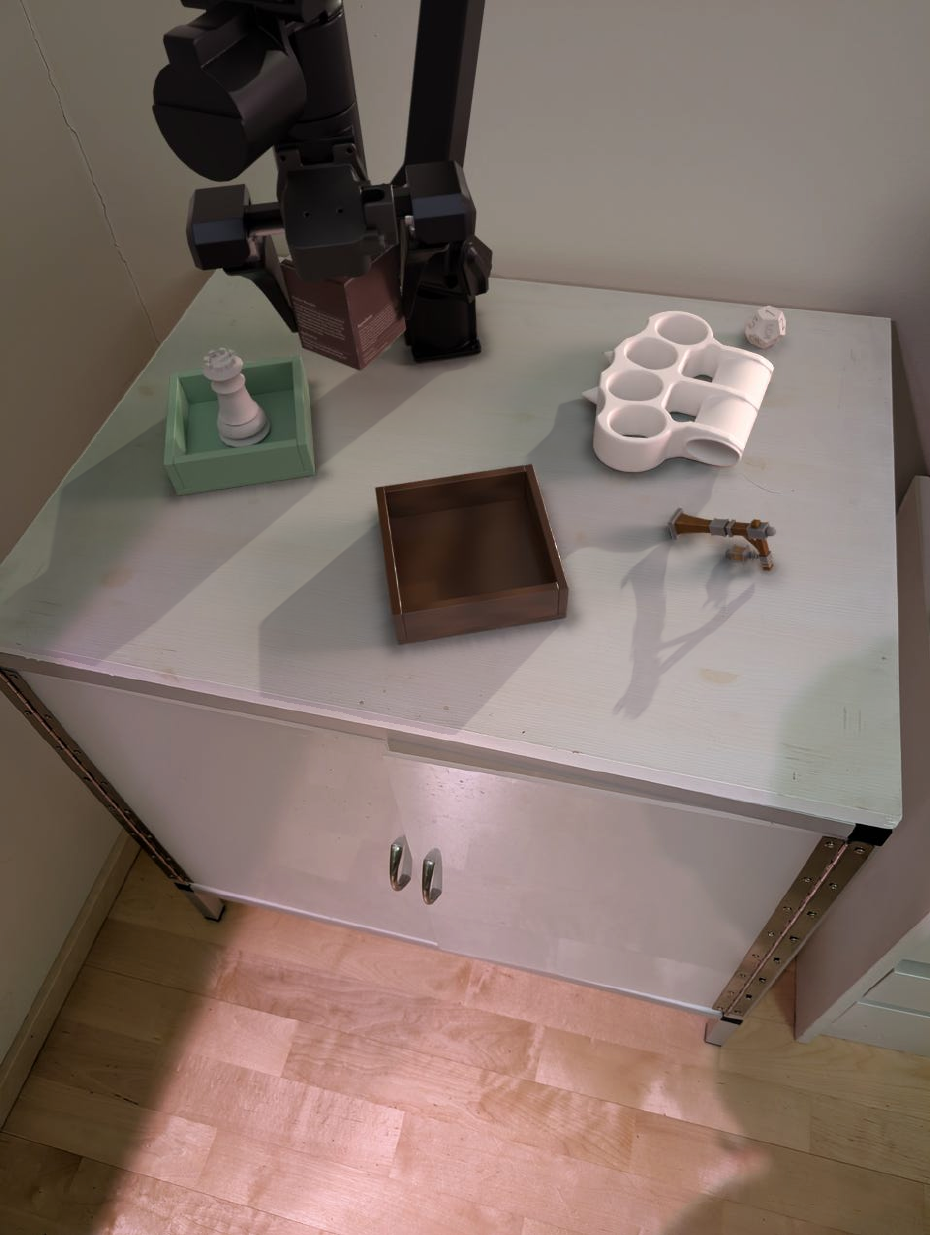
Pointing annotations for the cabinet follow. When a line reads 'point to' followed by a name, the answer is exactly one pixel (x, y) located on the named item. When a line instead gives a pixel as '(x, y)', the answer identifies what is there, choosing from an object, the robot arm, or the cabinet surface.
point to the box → (348, 311)
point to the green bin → (215, 465)
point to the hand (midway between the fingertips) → (350, 323)
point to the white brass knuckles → (676, 396)
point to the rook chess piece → (234, 401)
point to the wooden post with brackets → (723, 527)
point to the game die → (765, 327)
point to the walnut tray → (469, 554)
